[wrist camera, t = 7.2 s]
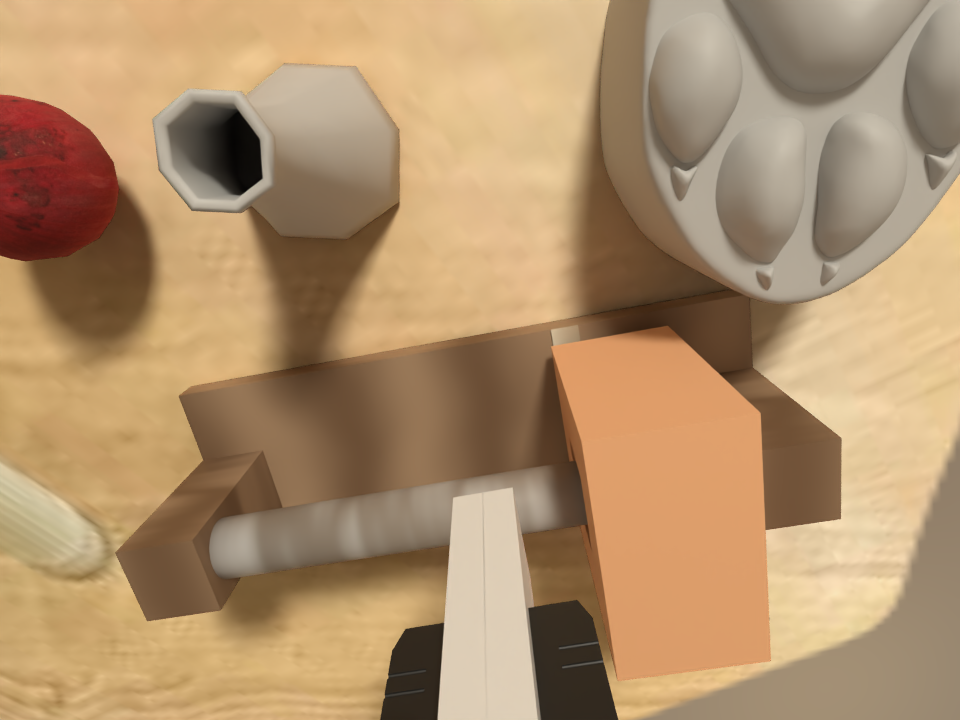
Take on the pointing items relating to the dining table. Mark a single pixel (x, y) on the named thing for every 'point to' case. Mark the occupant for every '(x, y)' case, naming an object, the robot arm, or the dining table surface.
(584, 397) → the collar
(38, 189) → the onion
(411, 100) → the dining table surface
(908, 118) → the lumpy-topped squat cylinder
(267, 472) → the pipe stand
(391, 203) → the flask
